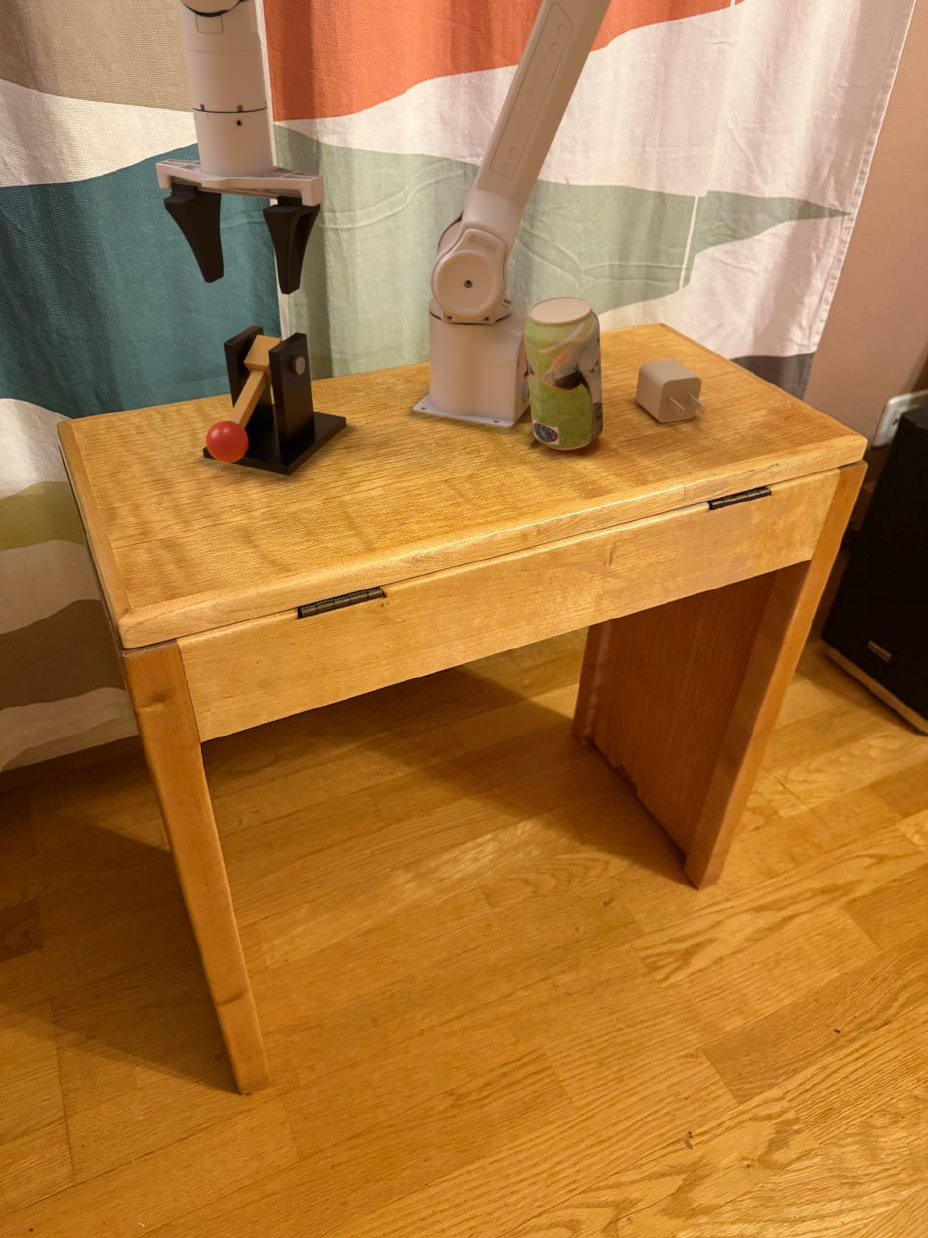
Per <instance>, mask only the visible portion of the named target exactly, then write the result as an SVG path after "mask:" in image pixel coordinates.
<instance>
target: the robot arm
mask: <svg viewBox="0 0 928 1238" xmlns="http://www.w3.org/2000/svg"><path fill="white" fill-rule="evenodd" d="M611 2H612V0H542V1H541V4H540V6H539V9H538V12H537V14H536V17H535V19H534V23H533V26H532V28H531V29H530V33H529V36H528V38H527V41H526V44H525V46H524V49H523V52H522V54H521V57H520V59H519V62H518V64H517V67H516V71H515V73H514V75H513V77H512V81H511V83H510V86H509V88H508V91H507V94H506V97H505V99H504V101H503V104H502V107H501V110H500V112H499V115H498V118H497V120H496V123H495V125H494V128H493V130H492V134H491V136H490V139H489V141H488V144H487V146H486V149H485V152H484V155H483V158H482V160H481V163H480V165H479V168H478V171H477V173H476V176H475V179H474V181H473V183H472V185H471V188H470V190H469V192H468V194H467V197H466V199H465V202H464V205H463V207H462V208H461V211H460V213H459V214H458V215H457V217H456V218H454V219H453V221H451V222H450V223H449V224H448V225H446V227H444V229H443V230H442V233H441V235H440V237H439V239H438V243H437V249H436V250H437V251H436V254H437V255H436V258H435V261H434V262H433V265H432V267H431V270H430V274H429V286H430V287H429V288H430V291H431V295H432V297H431V299H429V301H428V364H429V365H428V368H429V369H428V370H429V371H428V373H429V374H428V375H429V377H428V382H429V383H428V384H429V386H428V387H429V392H428V393H427V394H426V395H425V396H423V398H421V400H419V401H418V403H416V404H415V405H414V406H413V408H412V409H413V412H416V413H421V414H426V415H432V416H437V417H442V418H443V417H444V418H448V419H454V420H459V421H464V422H465V421H466V422H471V423H476V424H482V425H487V426H492V427H497V428H504V429H511V428H513V427H514V425H515V424H516V423H517V422H518V420H519V419H520V418H521V416H522V415H523V414H525V412H526V410H528V408H529V407H530V395H529V384H528V373H527V362H526V352H525V341H524V326H525V323H526V321H527V320H528V318H529V316H526V315H523V314H520V313H518V312H516V311H515V310H514V309H512V305H513V304H512V300H511V298H510V297H508V296H507V290H508V268H507V267H508V261H509V258H510V256H511V255H510V254H511V252H512V250H513V247H514V246H515V242H516V239H517V235H518V232H519V228H520V225H521V221H522V218H523V215H524V211H525V209H526V206H527V204H528V202H529V200H530V197H531V194H532V192H533V190H534V187H535V185H536V183H537V180H538V177H539V176H540V173H541V170H542V168H543V166H544V163H545V161H546V159H547V157H548V153H549V151H550V149H551V147H552V144H553V142H554V139H555V138H556V135H557V133H558V130H559V128H560V125H561V122H562V120H563V118H564V116H565V113H566V111H567V108H568V106H569V103H570V102H571V98H572V96H573V94H574V91H575V89H576V86H577V84H578V82H579V80H580V77H581V75H582V72H583V70H584V68H585V65H586V62H587V60H588V57H589V55H590V53H591V51H592V48H593V46H594V43H595V42H596V39H597V37H598V34H599V31H600V30H601V26H602V24H603V21H604V20H605V16H606V14H607V12H608V10H609V7H610V5H611ZM177 4H178V12H179V20H180V25H181V31H182V46H183V53H184V60H185V67H186V73H187V80H188V87H189V93H190V94H189V95H190V101H191V107H192V114H193V121H194V128H195V134H196V141H197V149H198V155H199V160H190V159H189V160H188V159H174V158H169V159H166V160H162V161H160V162H156V163H155V169H156V174H157V179H158V186H159V189H161V190H162V189H163V190H171V191H170V195H169V196H166V197H164V198H163V206H164V209H165V210H166V212H167V213H168V214H169V216H171V218H172V219H173V221H174V222H175V223H176V225H177V226H178V229H180V231H181V233H182V234H183V236H184V238H185V240H186V242H187V243H188V245H189V248H190V249H191V252H192V254H193V256H194V258H195V261H196V263H197V266H198V268H199V270H200V273H201V276H202V278H203V281H204V283H207V284H212V283H214V282H216V281H219V280H221V279H223V278H224V277H225V261H224V253H223V245H222V238H221V235H222V234H221V208H222V207H221V205H222V197H223V194H226V195H233V196H241V197H250V198H259V199H269V200H276V203H273V204H272V205H269V206H267V207H265V208H262V215H263V218H264V221H265V224H266V225H267V229H268V232H269V235H270V238H271V243H272V246H273V251H274V256H275V264H276V272H277V280H278V287H279V291H280V294H282V295H289V296H290V295H291V294H293V293H295V292H296V291H298V290H300V289H301V281H302V272H303V265H304V259H305V255H306V250H307V247H308V243H309V239H310V235H311V233H312V230H313V227H314V226H315V225H314V224H316V223H315V222H316V220H317V218H318V216H319V213H320V211H321V204H322V203H324V202H325V201H326V195H325V182H324V175H322V174H314V173H308V172H304V171H300V170H295V169H290V168H287V167H284V166H283V167H282V166H278V165H274V156H273V148H272V138H271V137H272V136H271V129H270V118H269V108H268V99H267V89H266V80H265V79H266V78H265V70H264V69H265V68H264V61H263V60H264V59H263V49H262V40H261V37H260V34H259V25H258V15H257V7H256V6H257V5H256V0H177Z"/></svg>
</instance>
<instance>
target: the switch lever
mask: <svg viewBox="0 0 928 1238" xmlns="http://www.w3.org/2000/svg"><path fill="white" fill-rule="evenodd" d="M282 341H283V339H282V338H280V337H274V336H267V335H264V336H263V335H257V337H256V339H255V341H254V343H253V345H252V347H251V349H250V351H249V353H248V355H247V357H246V359H245V361H244V363H245V365H246V367H247V368H248V370H249V372H250V373H251V375H250V377H249V378H248V380H247V382H246V384H245V386H244V388H243V390H242V392H241V394H240V396H239V398H238V400H237V402H236V404H235V406H234V408H233V407H232V410H231V412H230V414H229V416H228V418H227V420H220V421H217V422H215V423H214V424H212V426H210V427H209V429H208V431H207V433H206V436H205V445H206V446H207V449H208V451H209V452H210V454H211V455H212V456H213V457H214V458H215V459H217V460H216V461H218V460H219V461H218V462H222V463H226V464H227V463H228V464H232V463H231V462H235V461H238V460H239V459H241V458H242V457H243V456H244V455H245V453H246V452H247V449H248V444H249V441H248V436H247V433H246V432H245V430H244V428H245V426H246V424H247V422H248V420H249V418H250V416H251V414H252V412H253V410H254V408H255V406H256V404H257V402H258V400H259V398H260V396H261V394H262V392H263V390H264V388H265V386H266V384H267V383H268V384H270V385H272V381H271V372H270V364H269V355H268V350H270V349H271V348H273V347H274V346H276V345H277V344H279V343H280V342H282ZM206 446H205V447H206Z"/></svg>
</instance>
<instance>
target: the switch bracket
mask: <svg viewBox="0 0 928 1238" xmlns="http://www.w3.org/2000/svg"><path fill="white" fill-rule="evenodd" d="M257 335H263V336H265V331H264V326H261V325H251V326H248V328H246V329H244V330H242V331H241V332H239V333H237V334H236V335H233V336H232V337H231V338H229V339H228V340H226V341H225V342H223V351H224V358H225V363H226V364H225V365H226V372H227V377H228V385H229V391H230V397H231V403H232V404H231V406H232V409H233V408H234V406H235V404H236V402H237V400H238V398H239V396H240V394H241V392H242V390H243V388H244V386H245V384H246V382H247V380H248V378H249V377H250V375H251V373H250V372H249V370H248V368H247V367H246V365H245V363H244V361H245V359H246V357H247V355H248V353H249V351H250V349H251V347H252V345H253V343H254V341H255V339H256V337H257ZM268 355H269V364H270V372H271V381H272V384H268V383H267V384H266V386H265V388H264V390H263V392H262V394H261V396H260V398H259V400H258V402H257V404H256V406H255V408H254V410H253V412H252V414H251V416H250V418H249V420H248V422H247V424H246V426H245V428H244V430H245V432H246V433H247V436H248V441H249V444H248V449H247V452H246V453H245V455H244V456H243V457H242V458H241V459H239V460H238V461H235V462H231V463H230V464H232V465H237V466H242V467H247V468H250V469H251V468H252V469H255V470H261V471H265V472H270V473H275V474H280V475H282V476H283V475H284V476H291V475H292V474H293V473H294V472H295V471H297V470H298V469H299V468H300V467H301V466H302V465H303V464H305V463H306V462H307V461H308V460H309V459H310V458H312V457H313V456H314V455H315V454H317V452H318V451H319V450H320V449H322V448H323V447H324V446H326V444H327V443H328V442H330V441H331V440H332V439H333V438H334V437H335V436H336V435H338V434H339V433H340V432H342V430H343V429H344V428H346V427H347V417H346V416H341V415H336V414H331V413H327V412H321V411H317V410H314V401H313V391H312V390H313V389H312V377H311V367H310V357H309V346H308V334H307V333H304V332H303V333H302V332H294V333H293V334H291V335H289V336H288V337H286V338H285V339H284V340H282V342H280V343H279V344H277V345H276V346H274V347H273V348H271V349H270V350H268ZM271 388H272V389H271ZM272 396H273V397H272ZM202 453H203V458H204V459H209V460H213V461H218V462H220V461H219V460H217V459H215V458H214V457H213V456H212V455H211V454H210V452H209V451H208V449H207V446H204V447H203V448H202Z"/></svg>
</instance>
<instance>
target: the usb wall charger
mask: <svg viewBox="0 0 928 1238" xmlns="http://www.w3.org/2000/svg"><path fill="white" fill-rule="evenodd" d="M702 384H703V382H702V379H701V378H700V377H699V376H698V375H696V374H695V373H693V371H691V370H690V369H688V368H687V367H686V366H684V365H683V364H682V363H681V362H679V361H678V360H676V359H675V358H671V359H663V360H654V361H646V362H643V364H641V366H640V367H639V369H638V375H637V382H636V391H635V401H636V402H637V404H639V405H640V406H641V407H642V408H643V409H645V410H646V411H647V412H648V413H649V414H650V415H651V416H653V417H654V418H655V419H656V420H657V421H658V422H659V423H669V422H677V421H685V420H690V419H692V418H693V417H695V415H696V414H697V412H699V413H701V414H702V415H703V414H705V411H706V406H705V405H704V404H703V403H702V402H701V401H700V395H701V389H702Z"/></svg>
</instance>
